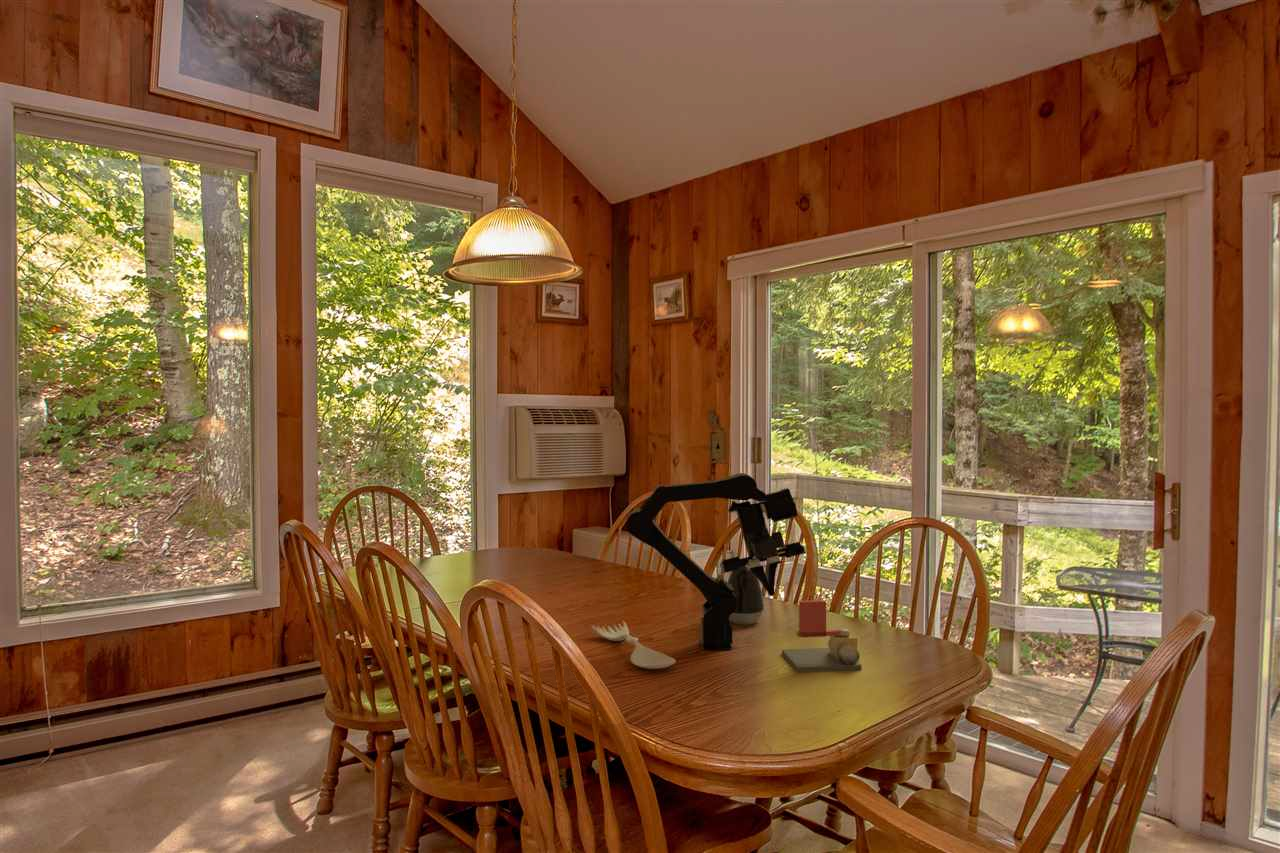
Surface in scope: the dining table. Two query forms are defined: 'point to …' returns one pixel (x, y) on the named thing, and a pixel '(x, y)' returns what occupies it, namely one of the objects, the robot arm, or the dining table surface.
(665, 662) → the white double-ended utensil part
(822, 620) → the valve lever
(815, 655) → the mounting board
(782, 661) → the dining table surface
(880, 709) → the dining table surface
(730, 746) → the dining table surface
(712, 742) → the dining table surface
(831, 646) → the ball valve
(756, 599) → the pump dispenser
